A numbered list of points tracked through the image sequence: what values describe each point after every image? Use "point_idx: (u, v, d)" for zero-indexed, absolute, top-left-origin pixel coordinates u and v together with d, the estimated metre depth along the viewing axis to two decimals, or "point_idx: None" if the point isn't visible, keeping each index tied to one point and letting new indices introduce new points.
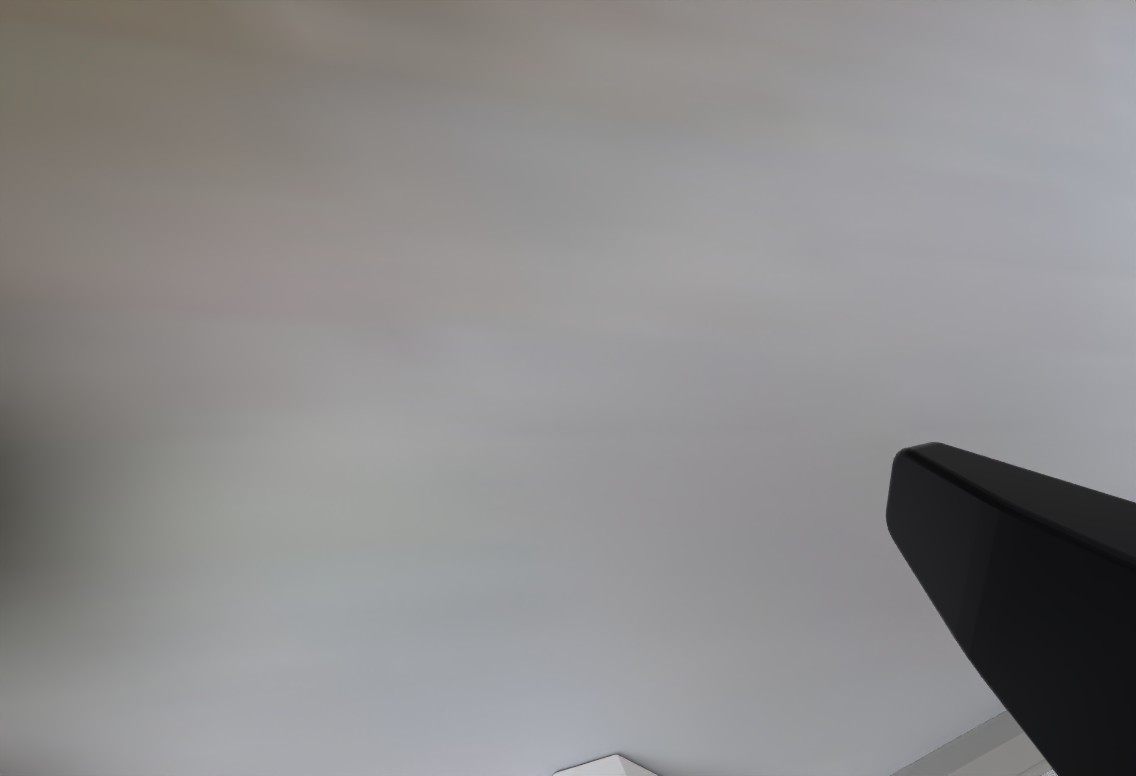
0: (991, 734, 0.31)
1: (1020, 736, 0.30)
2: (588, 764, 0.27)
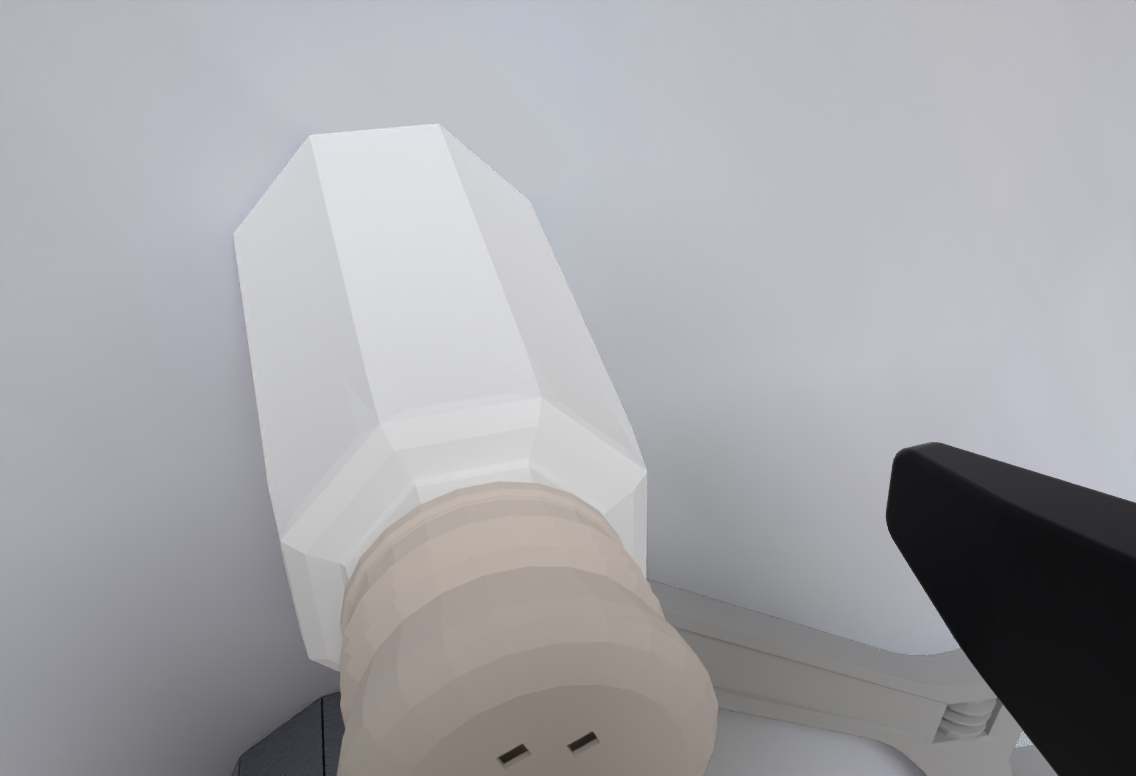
0: (813, 640, 0.22)
1: (842, 664, 0.22)
2: (488, 167, 0.15)
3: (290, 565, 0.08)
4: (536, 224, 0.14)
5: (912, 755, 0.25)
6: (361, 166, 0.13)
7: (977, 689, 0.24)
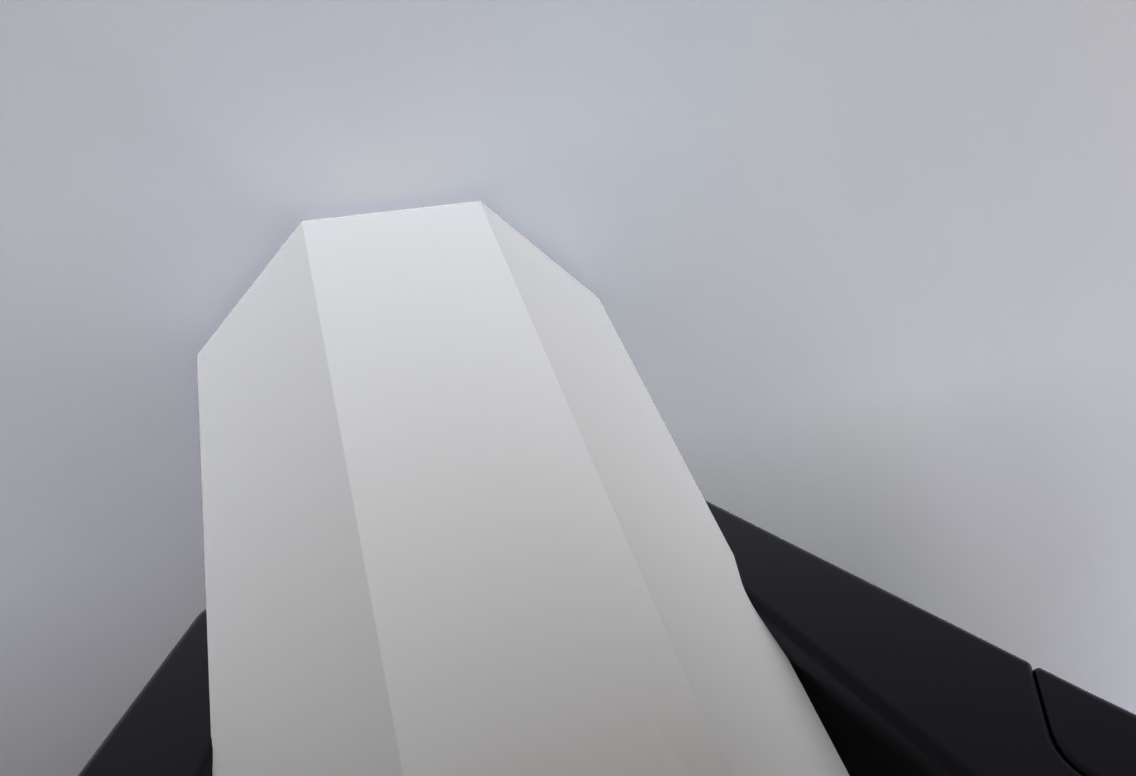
0: None
1: None
2: (544, 256, 0.11)
3: None
4: (617, 342, 0.10)
5: None
6: (377, 278, 0.09)
7: None
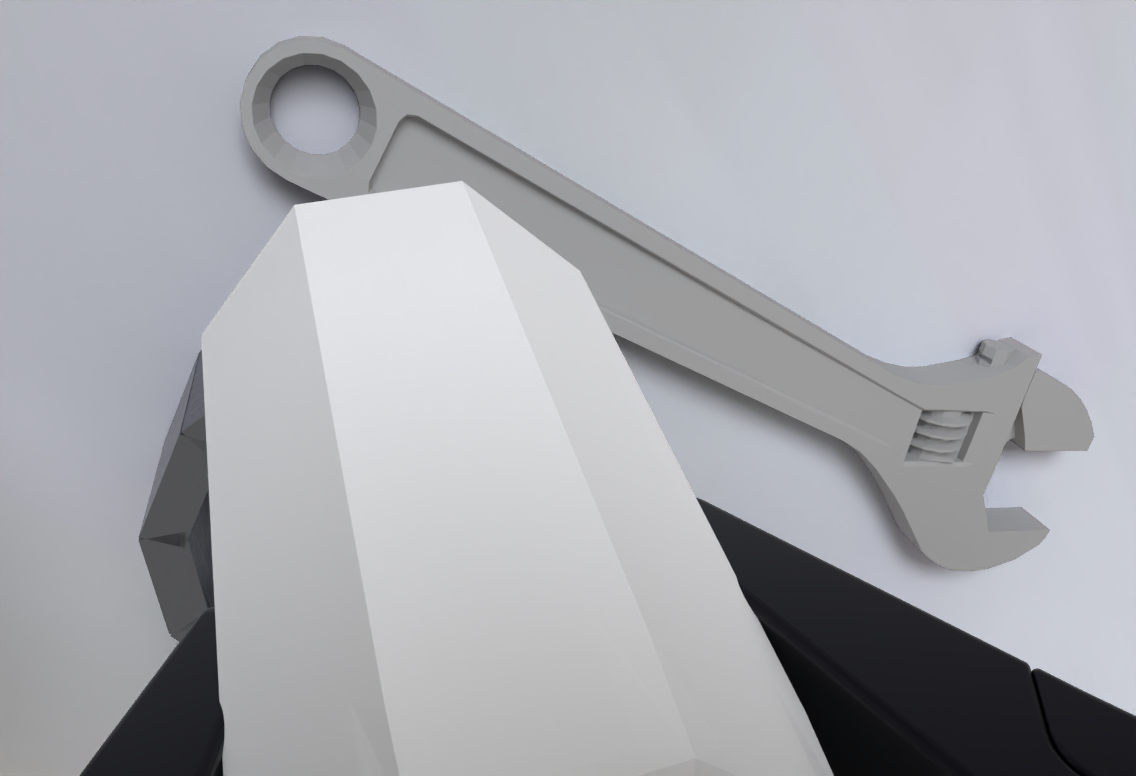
0: (783, 307, 0.21)
1: (813, 331, 0.21)
2: (526, 232, 0.12)
3: None
4: (595, 310, 0.11)
5: (883, 471, 0.23)
6: (363, 254, 0.09)
7: (953, 395, 0.23)
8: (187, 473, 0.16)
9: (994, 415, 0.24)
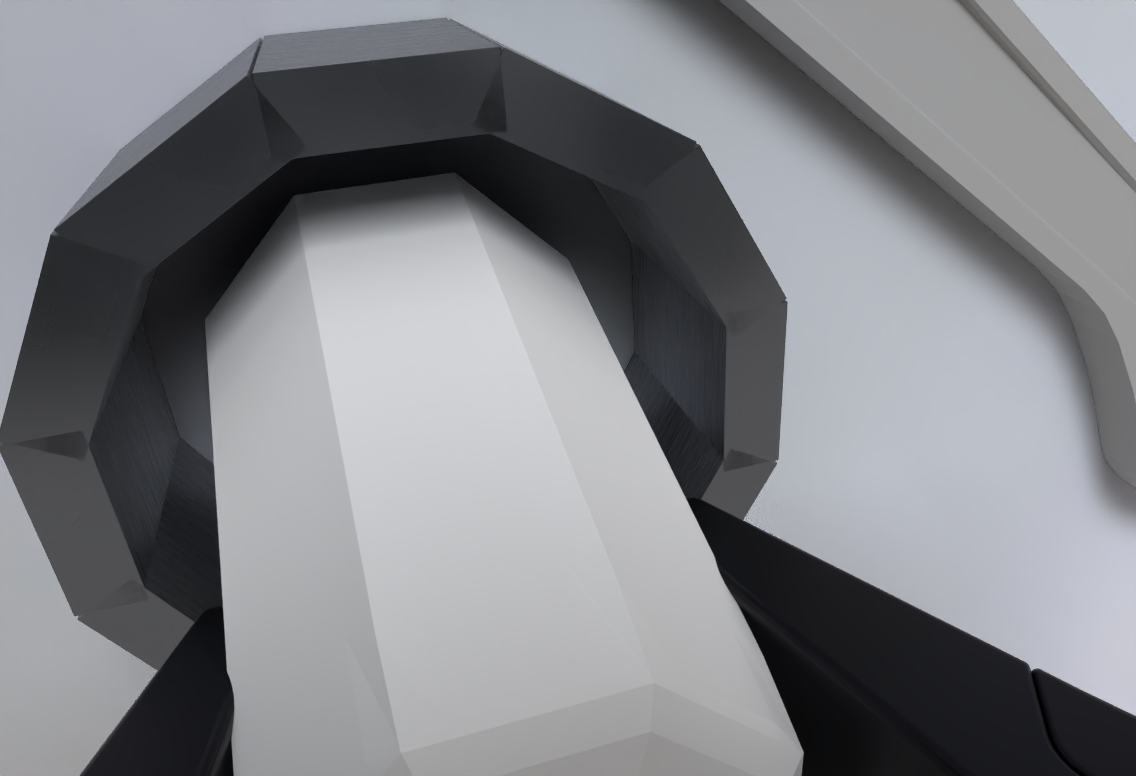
0: None
1: (1085, 93, 0.13)
2: (516, 222, 0.12)
3: None
4: (581, 296, 0.11)
5: (1127, 348, 0.16)
6: (360, 241, 0.10)
7: None
8: (75, 315, 0.08)
9: None
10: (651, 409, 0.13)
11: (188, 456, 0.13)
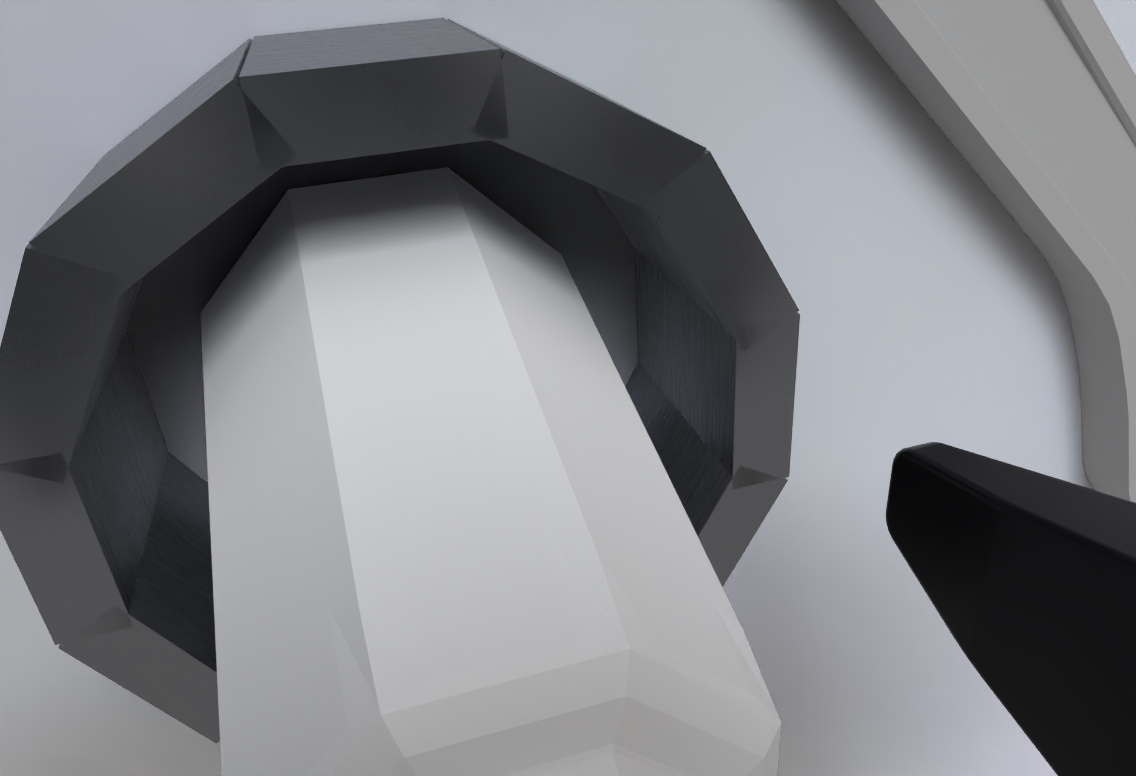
0: None
1: (1119, 59, 0.13)
2: (509, 216, 0.12)
3: None
4: (572, 289, 0.11)
5: (1127, 347, 0.15)
6: (352, 233, 0.10)
7: None
8: (52, 332, 0.08)
9: None
10: (656, 422, 0.13)
11: (176, 472, 0.12)
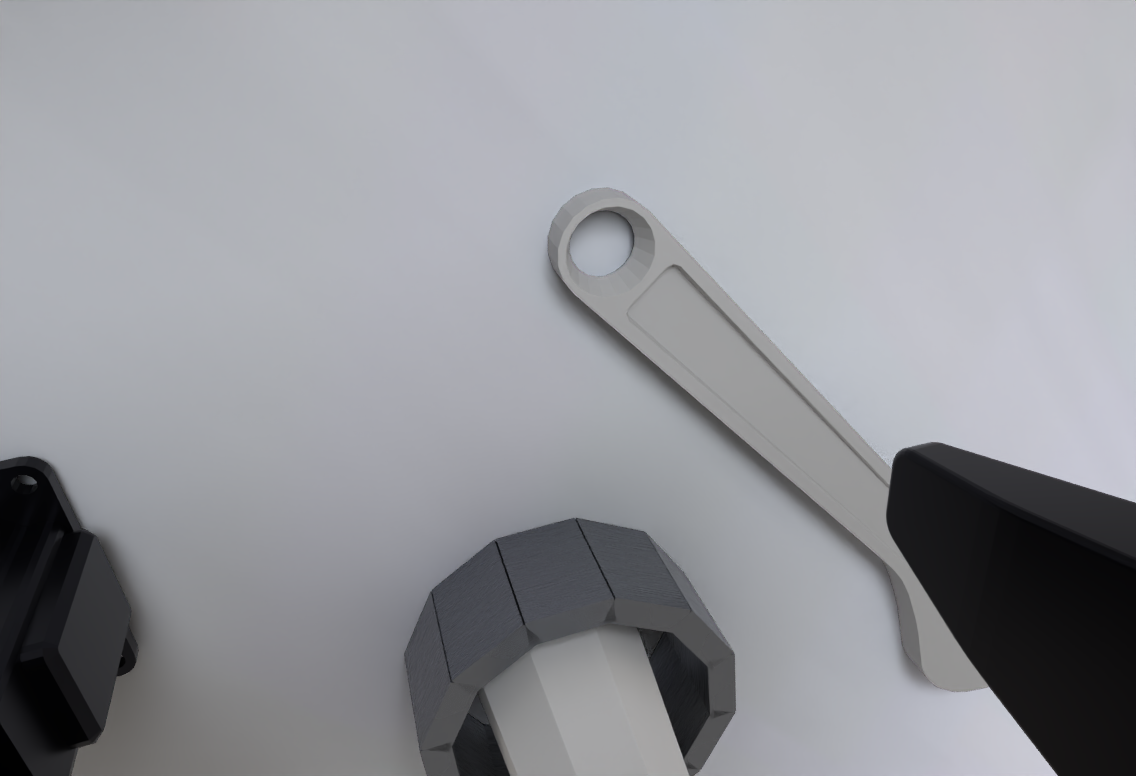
0: None
1: None
2: None
3: None
4: (635, 629, 0.25)
5: (913, 597, 0.29)
6: None
7: None
8: (454, 705, 0.22)
9: None
10: (674, 670, 0.27)
11: None
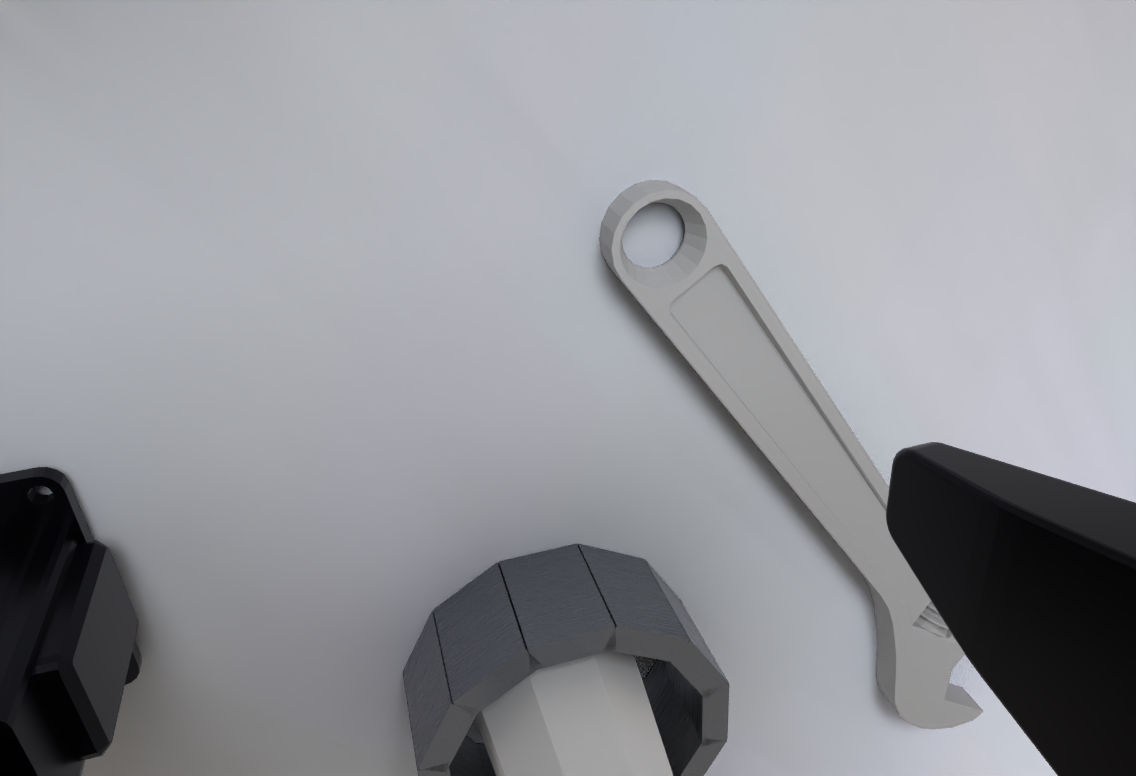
0: None
1: None
2: None
3: None
4: (631, 656, 0.25)
5: (897, 628, 0.29)
6: None
7: None
8: (453, 726, 0.22)
9: None
10: (667, 696, 0.27)
11: None
